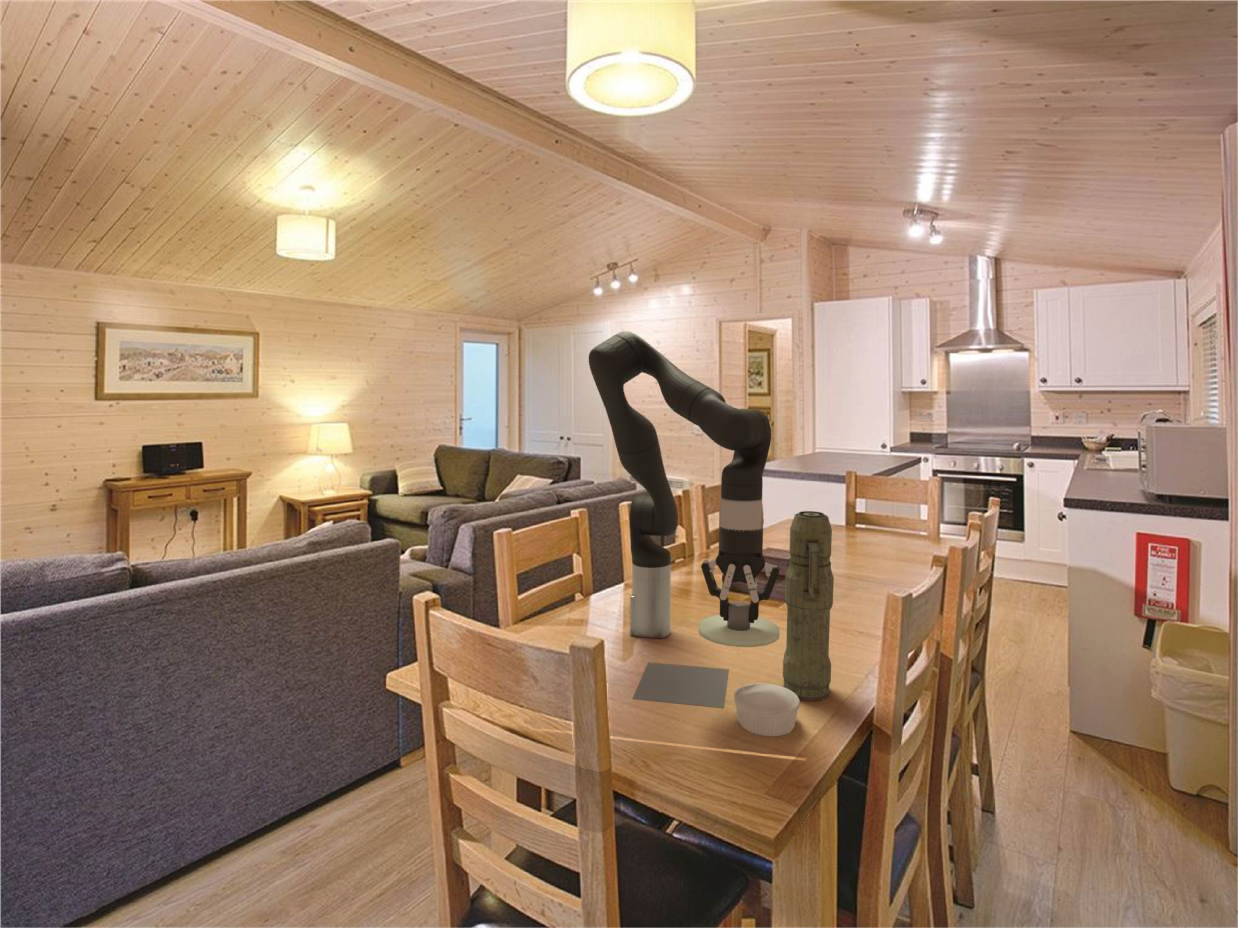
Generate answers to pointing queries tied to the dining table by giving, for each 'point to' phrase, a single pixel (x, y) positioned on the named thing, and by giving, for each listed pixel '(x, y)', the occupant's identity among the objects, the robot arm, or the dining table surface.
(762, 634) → the lid
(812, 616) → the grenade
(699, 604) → the dining table surface
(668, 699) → the mat
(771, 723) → the ramekin
